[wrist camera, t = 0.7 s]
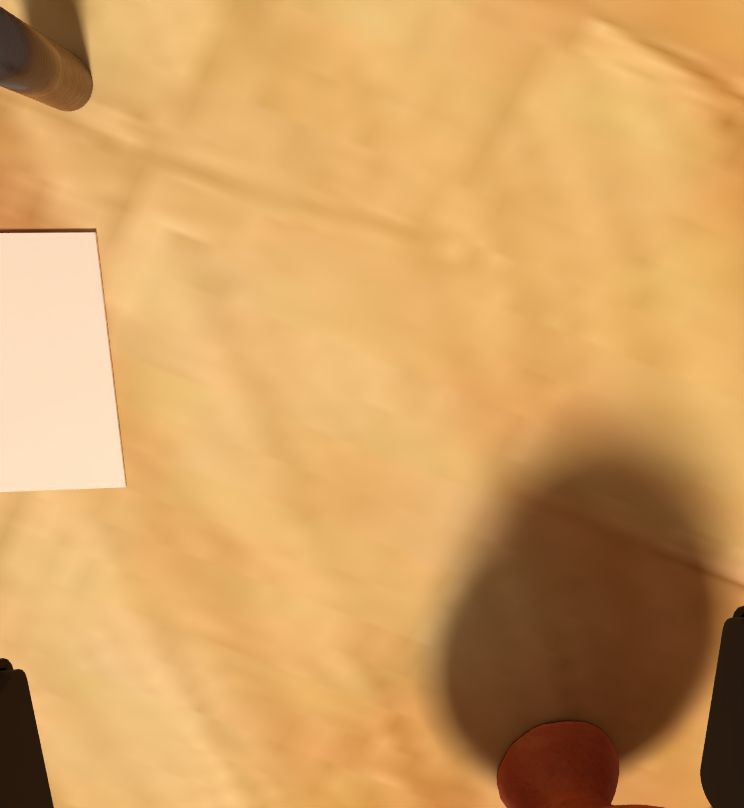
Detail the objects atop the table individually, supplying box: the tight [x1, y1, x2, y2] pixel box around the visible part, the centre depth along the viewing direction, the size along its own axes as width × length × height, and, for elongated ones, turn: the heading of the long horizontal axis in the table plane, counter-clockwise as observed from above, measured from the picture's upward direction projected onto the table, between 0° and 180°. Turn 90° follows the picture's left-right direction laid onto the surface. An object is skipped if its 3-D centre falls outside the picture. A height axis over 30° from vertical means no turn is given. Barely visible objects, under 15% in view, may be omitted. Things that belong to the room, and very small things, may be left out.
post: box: [0, 7, 93, 111], centre depth 27 cm, size 3×3×9 cm
